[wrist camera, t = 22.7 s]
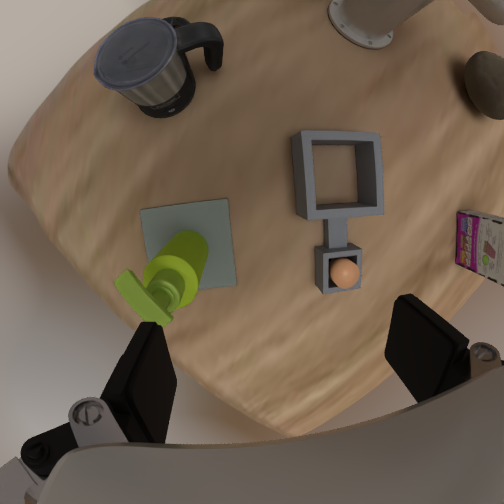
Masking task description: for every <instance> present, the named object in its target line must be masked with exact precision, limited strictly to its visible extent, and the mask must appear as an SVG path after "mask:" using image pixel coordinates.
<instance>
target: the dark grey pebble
mask: <svg viewBox="0 0 504 504" xmlns="http://www.w3.org/2000/svg"><path fill="white" fill-rule="evenodd" d="M464 81H465V86H466V90H467V92H468V95H469V97H470V99H471V101H472V102H473V104H474V105H475V106H476V107H477V109H478V110H480V111H481V112H482V113H483V114H484V115H486V116H488V117H490V118H492V119H497V120H503V119H504V58H502V57H501V56H498V55H496V54H494V53H491V52H487V51H481V52H477V53H475V54H474V55H473V56H472V57H471V58H470V59H469V60H468V62H467V64H466V66H465V70H464Z"/></svg>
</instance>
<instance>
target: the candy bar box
mask: <svg viewBox="0 0 504 504" xmlns="http://www.w3.org/2000/svg"><path fill="white" fill-rule="evenodd" d="M456 264H458V265H460V266H462V267H464V268H466V269H469V270H471V271H473V272H475V273H477V274H479V275H482V276H484V277H485V278H487V279H490V280H492V281H494V282H496V283H498V284H500V285H502V286H504V218H503V217H499V216H495V215H491V214H487V213H482V212H478V211H473V210H466V211H459V212H457V246H456Z"/></svg>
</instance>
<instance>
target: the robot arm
mask: <svg viewBox="0 0 504 504" xmlns="http://www.w3.org/2000/svg"><path fill="white" fill-rule="evenodd" d="M433 1H434V0H333V1H332V2H331V3H330V5H329V8H328V14H329V18H330V20H331V22H332V24H333V25H334V27H335V28H336V29H337V30H338V31H339V32H340V33H341V34H342V35H343V36H344V37H345V38H347V39H348V40H350V41H351V42H353V43H355V44H357V45H359V46H362V47H365V48H369V49H381V48H384V47H386V46H387V45H389V43H390V42H391V41H392V39H393V30H394V29H395V28H396V27H398V26H399V25H400V24H402V23H403V22H404V21H406V20H407V19H408V18H410V17H411V16H413V15H414V14H415V13H417V12H418V11H420V10H421V9H422V8H424V7H425V6H427V5H428V4H430V3H431V2H433ZM468 1H469V2H470V3H471V4H472V5H473V6H474V7H475V8H476V9H477V10H478V11H479V12H480V13H481V14H482V15H483V16H484V17H486V18H487V19H488V20H489V21H491V22H492V23H495V24H497V25H504V0H468ZM468 343H469V339H467V338H466V337H465V336H464V335H463V334H462V333H460V332H459V331H458V330H457V329H456V328H454V327H453V326H452V325H451V324H449V323H448V322H447V321H446V320H445V319H443V318H442V317H441V316H440V315H438V314H437V313H436V312H435V311H433V310H432V309H431V308H430V307H428V306H427V305H426V304H424V303H423V302H422V301H421V300H419V299H418V298H417V297H415V296H414V295H413V294H405V295H400V296H399V297H398V298H397V300H395V302H394V307H393V313H392V318H391V324H390V329H389V334H388V339H387V343H386V348H385V358H386V360H387V361H388V363H389V364H390V365H391V367H392V368H393V369H394V371H395V372H396V373H397V375H398V376H399V378H400V379H401V380H402V381H403V383H404V384H405V386H406V387H407V388H408V390H409V391H410V393H411V394H412V395H413V397H414V398H415V400H416V401H417V402H418V403H417V404H415V405H412V406H409V407H407V408H404V409H401V410H399V411H396V412H393V413H390V414H387V415H384V416H381V417H378V418H375V419H372V420H368V421H365V422H361V423H357V424H354V425H350V426H346V427H342V428H338V429H333V430H329V431H324V432H320V433H315V434H309V435H304V436H298V437H291V438H285V439H278V440H270V441H261V442H250V443H233V444H201V445H200V444H197V445H192V444H165V440H166V435H167V430H168V425H169V420H170V415H171V410H172V405H173V401H174V396H175V391H176V387H177V379H176V375H175V372H174V368H173V365H172V361H171V358H170V354H169V351H168V347H167V343H166V340H165V336H164V332H163V328H162V326H161V325H158V324H157V323H156V322H141V323H140V325H139V327H138V328H137V330H136V332H135V334H134V336H133V338H132V339H131V341H130V343H129V345H128V347H127V349H126V351H125V352H124V354H123V355H122V356H121V358H120V359H119V361H118V363H117V365H116V367H115V369H114V371H113V373H112V375H111V377H110V379H109V380H108V382H107V384H106V386H105V388H104V390H103V392H102V394H101V397H100V398H95V397H87V398H84V399H81V400H79V401H77V402H76V403H75V404H73V406H72V407H71V408H70V410H69V414H68V417H69V422H68V423H66V424H63V425H61V426H59V427H56V428H54V429H51V430H49V431H47V432H44V433H42V434H39V435H37V436H35V437H32V438H30V439H28V440H27V441H26V442H25V443H24V444H23V446H22V448H21V458H20V459H18V458H17V457H15V458H13V459H12V460H10V461H9V462H8V463H6V464H5V465H4V466H2V467H1V468H0V504H504V361H503V360H501V358H500V354H499V351H498V350H497V349H496V348H495V347H494V346H492V345H490V344H488V343H483V342H478V343H475V344H473V345H472V346H471V347H470V350H469V349H468V348H467V346H468Z"/></svg>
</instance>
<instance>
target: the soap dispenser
mask: <svg viewBox="0 0 504 504" xmlns="http://www.w3.org/2000/svg"><path fill="white" fill-rule="evenodd" d="M207 257H208V245H207V242H206V240H205V239H204V238H203V236H201V235H200V234H199V233H197V232H194V231H190V230H187V231H182V232H179V233H178V234H176V235H175V236H174V237H173V238H172V239H171V240H170V241H169V242H168V243H167V244H166V245H165V246H164V247H163V248H162V250H161V251H160V252H159V253H158V254H157V255H156V256H155V257H154V258H153V259H152V260H151V261H150V262H149V263H148V265H147V266H146V268H145V270H144V273H143V285H142V284H141V282H140V281H139V280H138V278H137V277H136V276H135V274H134V273H133V271H131V270H129V269H126V270H125V271H124V272H123V273H122V274H121V275H120V276H119V277H118V278H117V279H116V280H115V281H114V284H115V286H116V288H117V289H118V291H119V292H120V294H121V295H122V296H123V298H124V299H125V300H126V302H127V303H128V304H129V305H130V306H131V307H132V309H133V310H134V311H135V312H136V313H137V314H138V315H139V316H140V317H141V318H142V319H143V320H144V321H145V322H156V323H157V324H158V325H161V326H162V328H163V327H164V326H166V325H167V324H168V323H170V322H171V321H172V320H173V318H174V317H173V316H172V315H171V314H170V313H171V312H173V311H174V310H176V309H178V308H182V307H184V306H186V305H188V304H189V303H190V302H192V300H193V299H194V298H195V296H196V294H197V291H198V287H199V284H200V280H201V277H202V274H203V270H204V267H205V264H206V260H207Z"/></svg>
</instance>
